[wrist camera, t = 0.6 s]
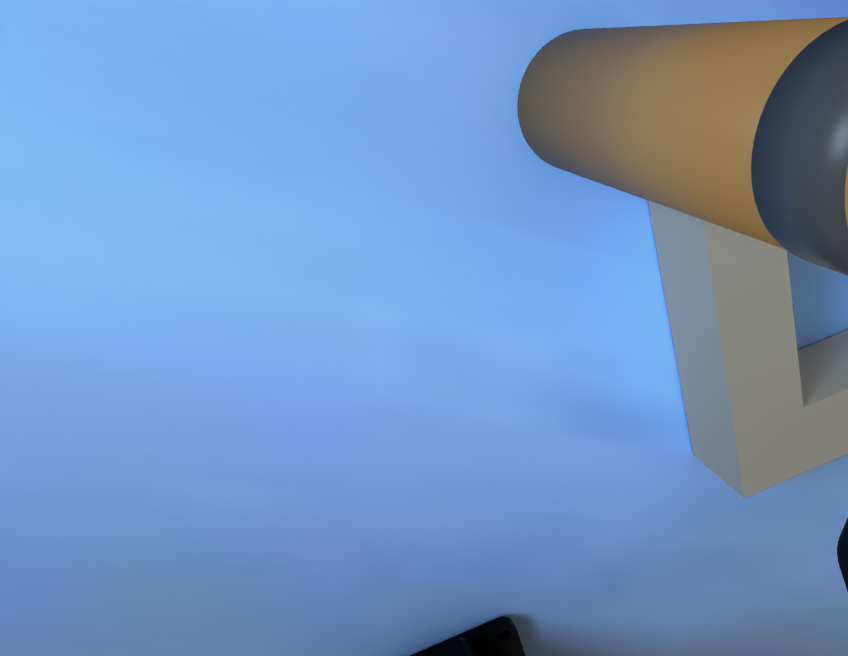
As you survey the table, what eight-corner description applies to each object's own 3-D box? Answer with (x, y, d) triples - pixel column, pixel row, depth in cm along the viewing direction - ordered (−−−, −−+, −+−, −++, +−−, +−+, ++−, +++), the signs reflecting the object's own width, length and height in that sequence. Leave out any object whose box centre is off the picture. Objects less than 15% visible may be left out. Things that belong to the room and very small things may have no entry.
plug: (654, 146, 24) (1089, 246, 12) (533, 190, 23) (861, 340, 11) (631, 8, 22) (1107, -35, 10) (500, 52, 22) (842, 60, 10)
